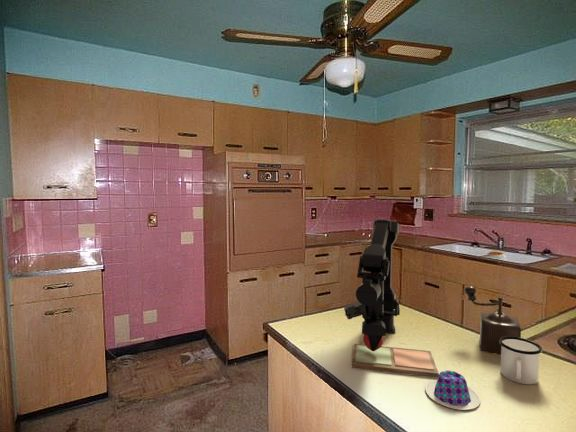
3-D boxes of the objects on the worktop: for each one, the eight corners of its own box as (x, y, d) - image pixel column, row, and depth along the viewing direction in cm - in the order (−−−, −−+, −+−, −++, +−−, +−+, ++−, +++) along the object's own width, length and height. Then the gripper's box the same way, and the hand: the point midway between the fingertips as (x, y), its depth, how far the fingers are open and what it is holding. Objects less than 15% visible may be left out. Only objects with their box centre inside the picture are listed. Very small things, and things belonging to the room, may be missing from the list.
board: (353, 347, 106) (353, 342, 106) (430, 354, 101) (430, 350, 101) (351, 367, 94) (351, 362, 94) (438, 377, 88) (438, 372, 88)
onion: (383, 356, 95) (384, 329, 95) (363, 355, 96) (363, 328, 96) (382, 347, 101) (382, 322, 100) (363, 346, 102) (363, 320, 102)
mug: (499, 363, 95) (500, 333, 95) (540, 373, 90) (541, 341, 89) (495, 383, 86) (496, 349, 85) (541, 396, 80) (543, 360, 79)
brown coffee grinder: (516, 343, 107) (518, 289, 106) (521, 359, 98) (523, 299, 96) (462, 334, 115) (463, 283, 114) (462, 347, 105) (463, 292, 104)
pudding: (463, 382, 87) (464, 363, 86) (491, 412, 75) (491, 390, 74) (417, 382, 87) (418, 363, 86) (437, 412, 75) (438, 390, 75)
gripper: (347, 284, 108) (348, 330, 110) (343, 303, 90) (343, 358, 91) (383, 286, 106) (382, 333, 107) (385, 306, 88) (385, 362, 89)
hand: (373, 345), depth 99 cm, fingers closed on onion, 6 cm apart
